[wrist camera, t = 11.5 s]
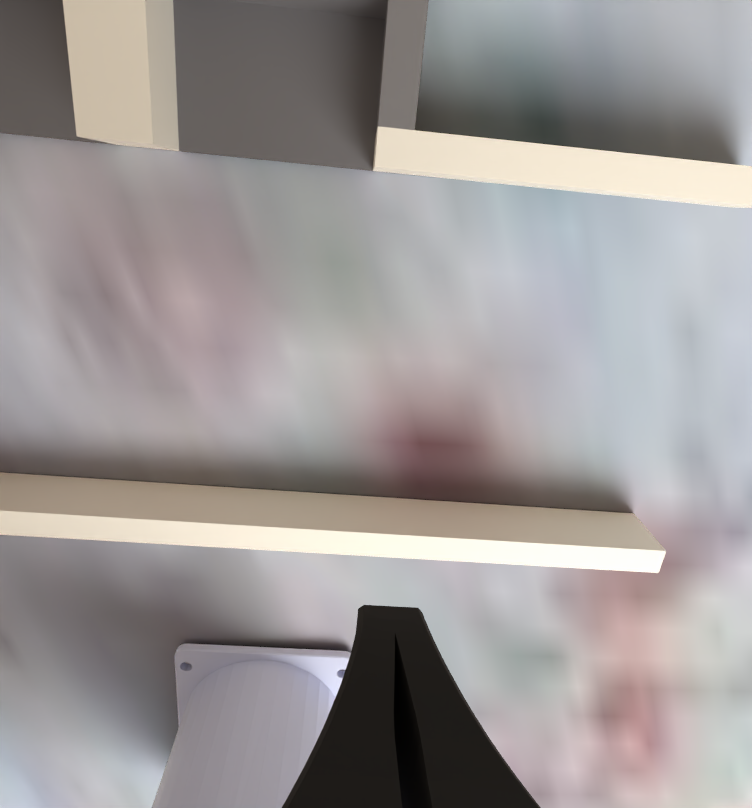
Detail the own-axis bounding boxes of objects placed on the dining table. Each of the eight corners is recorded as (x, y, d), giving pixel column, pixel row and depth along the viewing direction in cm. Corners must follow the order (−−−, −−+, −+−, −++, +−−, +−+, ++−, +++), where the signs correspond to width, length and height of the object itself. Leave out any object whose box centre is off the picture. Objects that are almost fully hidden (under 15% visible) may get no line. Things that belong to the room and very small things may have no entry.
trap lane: (627, 533, 22) (673, 591, 19) (-255, 478, 20) (-373, 532, 17) (786, 29, 16) (896, -13, 13) (-492, -129, 14) (-756, -229, 10)
